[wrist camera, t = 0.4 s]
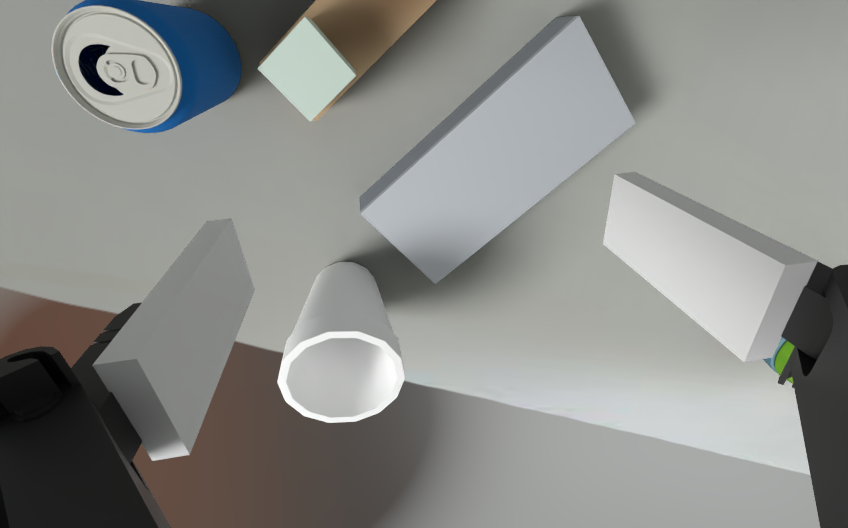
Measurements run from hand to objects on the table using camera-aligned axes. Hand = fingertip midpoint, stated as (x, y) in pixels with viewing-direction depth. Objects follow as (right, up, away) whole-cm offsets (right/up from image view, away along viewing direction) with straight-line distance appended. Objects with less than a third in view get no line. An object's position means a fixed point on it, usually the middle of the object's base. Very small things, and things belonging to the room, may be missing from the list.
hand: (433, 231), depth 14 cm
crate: (-8, +12, +13) cm, 20 cm away
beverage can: (-17, +14, +17) cm, 28 cm away
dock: (+5, +9, +23) cm, 26 cm away
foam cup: (-8, -3, +28) cm, 30 cm away
